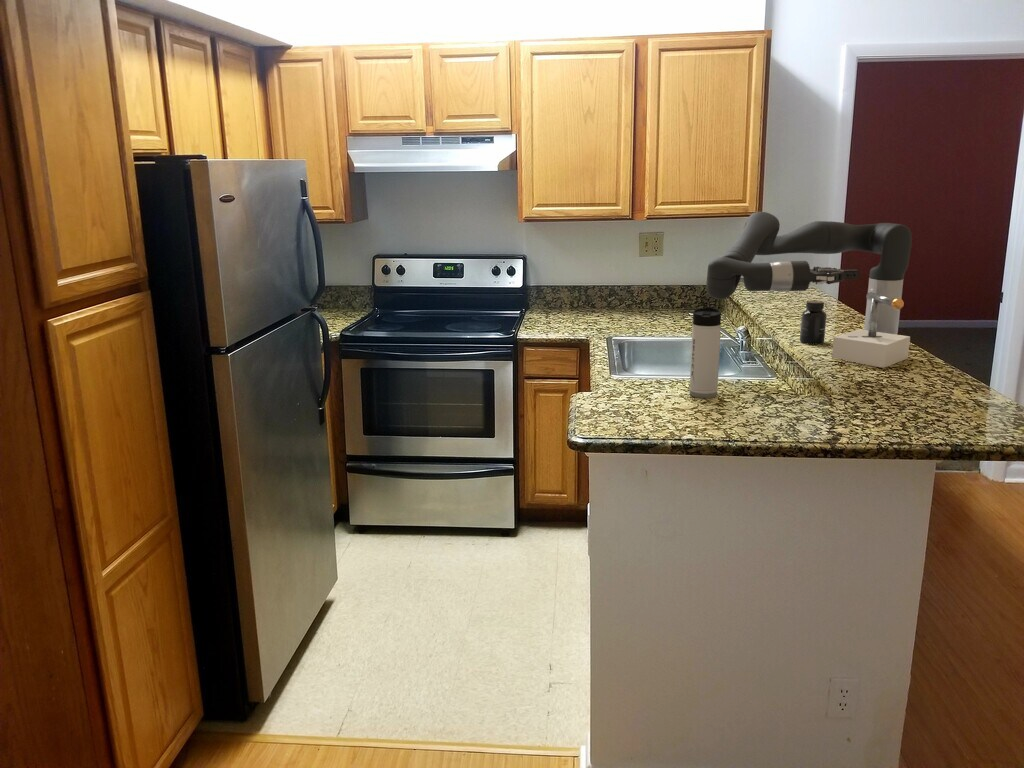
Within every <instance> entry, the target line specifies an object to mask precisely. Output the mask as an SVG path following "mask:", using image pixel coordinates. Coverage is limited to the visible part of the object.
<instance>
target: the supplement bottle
mask: <svg viewBox="0 0 1024 768" xmlns="http://www.w3.org/2000/svg"><path fill="white" fill-rule="evenodd" d="M824 309H825V301H822V300H807V301H806V304H805V310H804V311H802V313H801V321H800V332H799V342H800V341H801V342H800V343H802V342H803V343H802V344H805V343H808V344H807V345H822V344H824V343H825V337H826V329H827V328H826V327H827V315H828V314H827V313H826V312H825V311H824Z"/></svg>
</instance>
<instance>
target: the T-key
mask: <svg viewBox="0 0 1024 768" xmlns="http://www.w3.org/2000/svg"><path fill="white" fill-rule="evenodd" d="M865 296H866V297H865V298H866V300H867V299H869V300H871V310H870V320H869V330H868V336H876V332H877V323H878V313H879V303H882V304H885V305H888V306H892V307H893V308H894V309H896V310H899V309H900V310H902V309H903V307H904V304H905V303H904V300H903V299H902V298H901V299H899V298H897V299H893V298H890V297H886V296H883V295H879V294H876V293H872V292H869V293H868V292H867V293H866V294H865Z"/></svg>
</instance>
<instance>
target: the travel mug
mask: <svg viewBox="0 0 1024 768" xmlns="http://www.w3.org/2000/svg"><path fill="white" fill-rule="evenodd" d="M721 320H722V311H721V310H720V309H717V308H714V307H713V306H704V307H702V308H701V307H700V308H696V309H695V310H693V311H692V323H691V324H692V327H691V328H692V329H691V330H692V331H691V353H690V373H689V375H690V377H689V394H690V396H692V397H694V398H698V399H712V398H715V397H717V395H718V389H719V387H718V386H719V369H720V349H721V329H722V324H721V323H722V322H721Z"/></svg>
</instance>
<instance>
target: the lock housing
mask: <svg viewBox="0 0 1024 768" xmlns="http://www.w3.org/2000/svg"><path fill="white" fill-rule="evenodd" d="M832 342H833V343H832V344H833V345H832V354H831V359H832V358H837V359H843V360H847V361H852V362H851V363H853V362H856V363H855V364H858V363H861V364H860V365H864V364H866V365H865V366H872V367H875V368H877V367H878V368H882V369H886V368H887V367H889V366H893V365H895V364H897V363H900V362H903V361H905V360H907V359H908V358H909V351H910V343H911V336H908V335H903V334H902V335H901V334H897V335H896V334H889V333H881V332H876V336H868V331H867V330H864V329H860V328H859V329H855V330H852V331H849V332H846V333H842V334H838V335H836V336H833V341H832ZM847 361H846V362H847Z"/></svg>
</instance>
